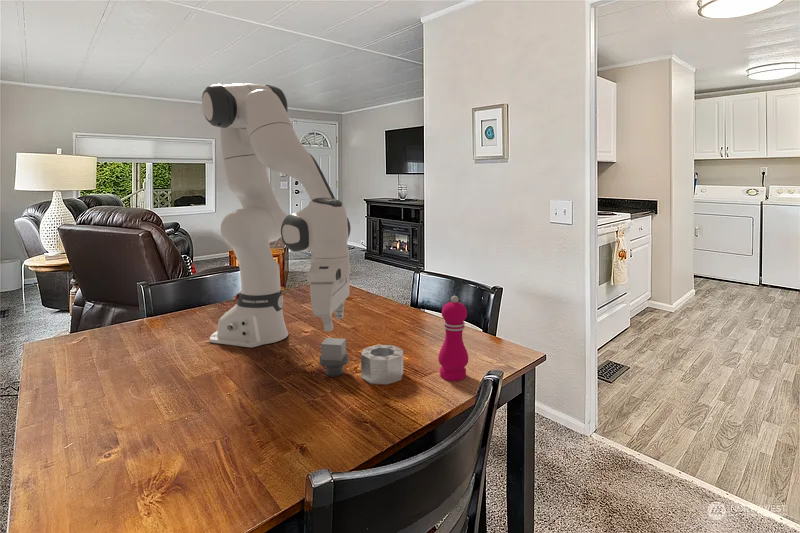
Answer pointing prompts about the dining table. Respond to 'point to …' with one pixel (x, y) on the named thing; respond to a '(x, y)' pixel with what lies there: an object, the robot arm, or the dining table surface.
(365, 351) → the grey octagonal nut
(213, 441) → the dining table surface
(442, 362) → the pepper mill
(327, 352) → the grey stepped piece
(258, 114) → the robot arm
